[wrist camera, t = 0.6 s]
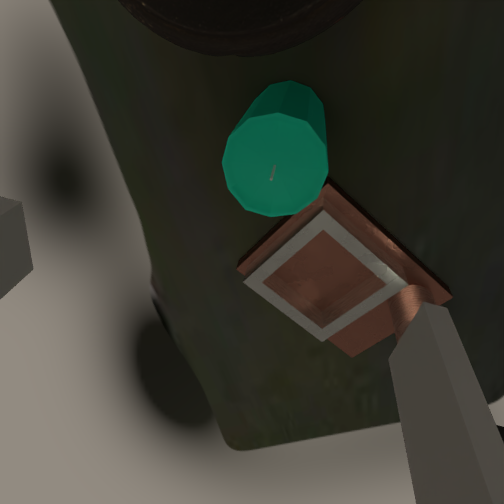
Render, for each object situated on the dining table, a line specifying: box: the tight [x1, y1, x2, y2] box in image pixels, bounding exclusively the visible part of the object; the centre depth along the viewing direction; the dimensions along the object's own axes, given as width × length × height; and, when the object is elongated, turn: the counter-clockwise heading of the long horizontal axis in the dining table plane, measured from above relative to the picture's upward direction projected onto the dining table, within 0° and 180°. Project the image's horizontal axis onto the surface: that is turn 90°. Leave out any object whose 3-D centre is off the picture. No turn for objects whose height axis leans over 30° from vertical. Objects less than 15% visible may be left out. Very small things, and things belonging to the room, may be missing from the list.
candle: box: [222, 80, 329, 217], centre depth 25 cm, size 6×6×12 cm
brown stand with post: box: [236, 176, 453, 357], centre depth 31 cm, size 12×16×14 cm
